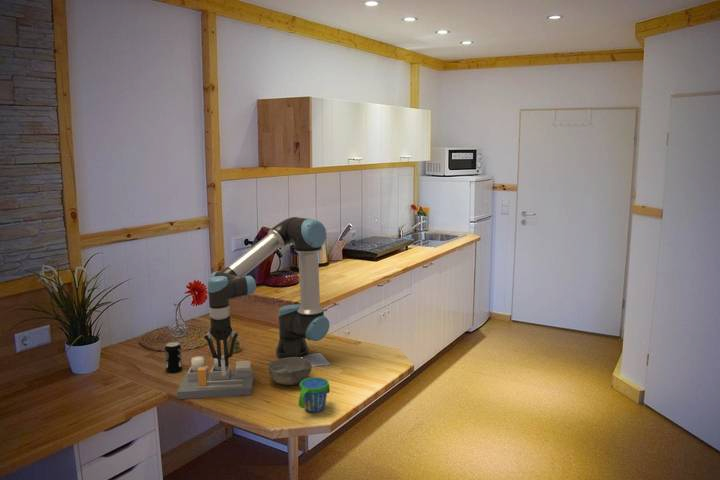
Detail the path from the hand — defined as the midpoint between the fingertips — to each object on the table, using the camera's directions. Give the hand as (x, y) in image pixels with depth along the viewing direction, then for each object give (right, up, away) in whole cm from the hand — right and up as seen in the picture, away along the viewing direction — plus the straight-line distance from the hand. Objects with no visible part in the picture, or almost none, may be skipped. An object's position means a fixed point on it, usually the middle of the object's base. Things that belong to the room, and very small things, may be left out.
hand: (224, 374), depth 225 cm
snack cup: (+37, -10, -14) cm, 40 cm away
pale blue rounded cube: (-3, 0, +8) cm, 9 cm away
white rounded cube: (-12, 0, +7) cm, 14 cm away
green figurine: (-7, 0, +47) cm, 47 cm away
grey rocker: (+6, +1, +9) cm, 11 cm away
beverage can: (-27, -4, +23) cm, 36 cm away
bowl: (+25, -6, +11) cm, 28 cm away
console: (-4, -7, +5) cm, 9 cm away
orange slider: (-8, -4, -1) cm, 9 cm away
